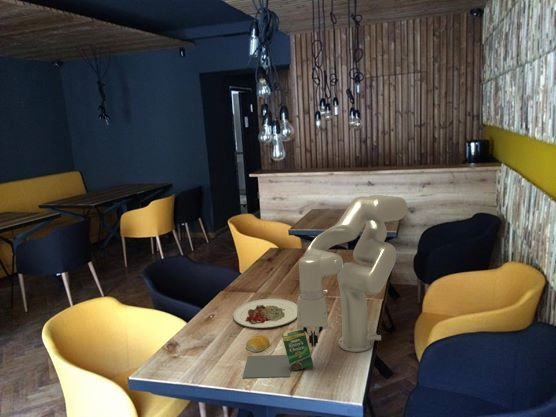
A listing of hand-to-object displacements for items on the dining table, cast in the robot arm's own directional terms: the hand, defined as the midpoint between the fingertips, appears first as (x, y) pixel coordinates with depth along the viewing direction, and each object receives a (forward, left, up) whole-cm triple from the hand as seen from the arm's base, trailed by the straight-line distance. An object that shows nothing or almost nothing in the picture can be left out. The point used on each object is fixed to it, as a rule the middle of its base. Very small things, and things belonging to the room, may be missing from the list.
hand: (313, 344), depth 150 cm
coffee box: (+4, 0, -9) cm, 10 cm away
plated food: (+20, -45, -10) cm, 51 cm away
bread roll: (+21, -17, -10) cm, 29 cm away
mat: (+16, -2, -9) cm, 19 cm away
